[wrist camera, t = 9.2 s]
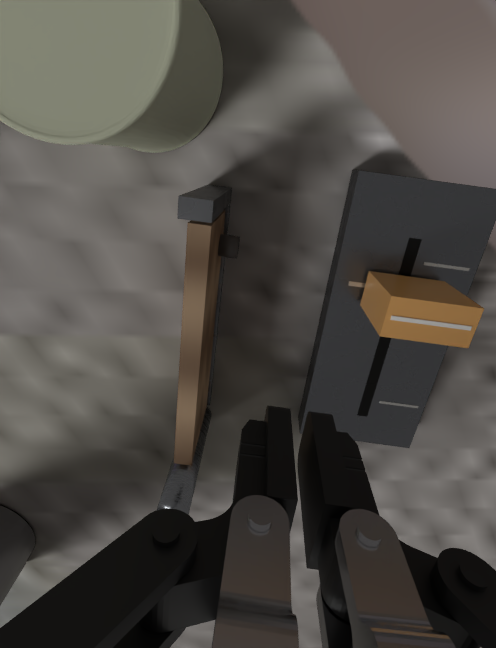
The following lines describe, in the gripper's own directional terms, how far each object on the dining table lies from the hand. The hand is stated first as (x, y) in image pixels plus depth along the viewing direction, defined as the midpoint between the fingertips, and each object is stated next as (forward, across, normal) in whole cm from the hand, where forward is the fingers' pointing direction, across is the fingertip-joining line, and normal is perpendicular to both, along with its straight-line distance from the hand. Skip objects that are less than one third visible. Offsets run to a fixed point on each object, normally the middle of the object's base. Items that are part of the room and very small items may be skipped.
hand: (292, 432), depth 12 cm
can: (+17, +10, -12) cm, 23 cm away
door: (+16, +4, +3) cm, 17 cm away
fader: (+15, -8, -1) cm, 17 cm away
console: (+17, -8, +2) cm, 19 cm away
